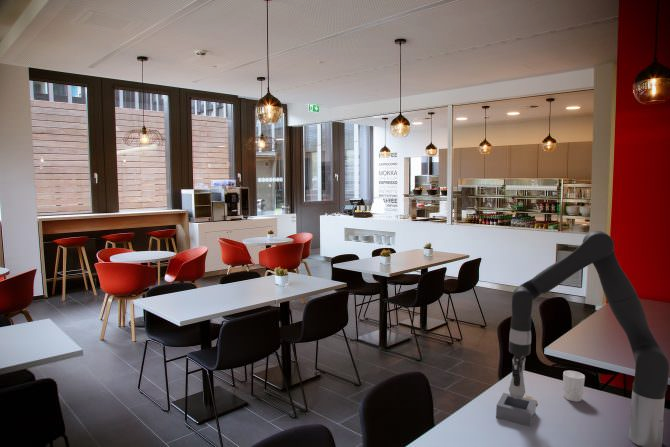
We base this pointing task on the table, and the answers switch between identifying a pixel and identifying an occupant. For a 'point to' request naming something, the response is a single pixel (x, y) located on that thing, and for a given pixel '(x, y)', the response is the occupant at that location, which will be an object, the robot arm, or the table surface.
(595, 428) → the table surface
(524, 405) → the well
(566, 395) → the white cup
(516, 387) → the salt shaker
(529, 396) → the cork coaster
